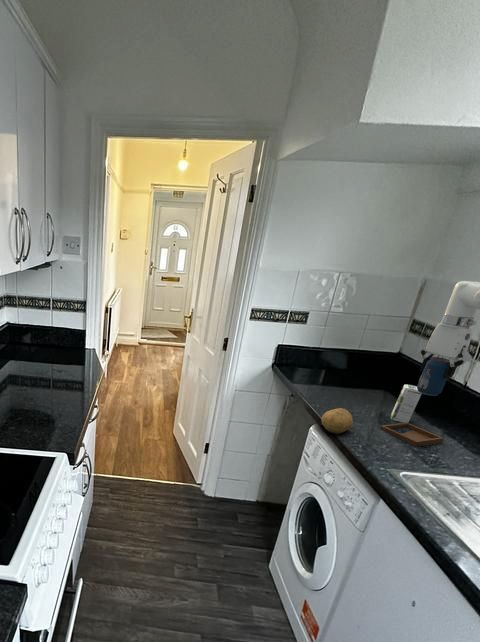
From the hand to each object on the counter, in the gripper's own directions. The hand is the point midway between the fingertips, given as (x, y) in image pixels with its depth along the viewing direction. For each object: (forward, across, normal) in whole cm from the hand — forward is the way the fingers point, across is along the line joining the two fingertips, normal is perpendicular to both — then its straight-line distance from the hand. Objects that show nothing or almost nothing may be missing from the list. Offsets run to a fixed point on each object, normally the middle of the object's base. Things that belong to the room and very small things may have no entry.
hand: (435, 373), depth 140 cm
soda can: (+7, 0, 0) cm, 7 cm away
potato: (+25, +11, +24) cm, 37 cm away
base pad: (+25, +1, -1) cm, 25 cm away
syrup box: (+25, +13, -12) cm, 30 cm away
